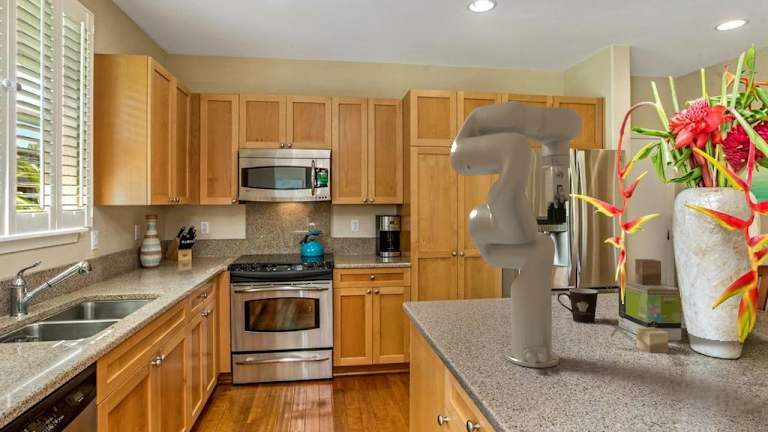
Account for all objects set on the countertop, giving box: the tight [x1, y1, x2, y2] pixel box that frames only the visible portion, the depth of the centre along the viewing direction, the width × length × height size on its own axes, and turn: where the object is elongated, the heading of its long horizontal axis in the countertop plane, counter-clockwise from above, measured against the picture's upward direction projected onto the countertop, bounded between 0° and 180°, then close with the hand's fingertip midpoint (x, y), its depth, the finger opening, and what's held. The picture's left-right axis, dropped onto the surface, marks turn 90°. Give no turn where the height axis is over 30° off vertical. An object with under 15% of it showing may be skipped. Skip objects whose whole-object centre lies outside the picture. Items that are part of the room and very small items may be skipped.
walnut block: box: [634, 258, 662, 285], centre depth 123 cm, size 5×5×7 cm
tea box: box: [618, 280, 682, 342], centre depth 123 cm, size 15×10×15 cm, turn 179°
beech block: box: [635, 327, 669, 353], centre depth 110 cm, size 5×5×5 cm
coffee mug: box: [556, 287, 599, 324], centre depth 139 cm, size 12×9×10 cm
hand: (556, 222), depth 121 cm, fingers open, 9 cm apart
